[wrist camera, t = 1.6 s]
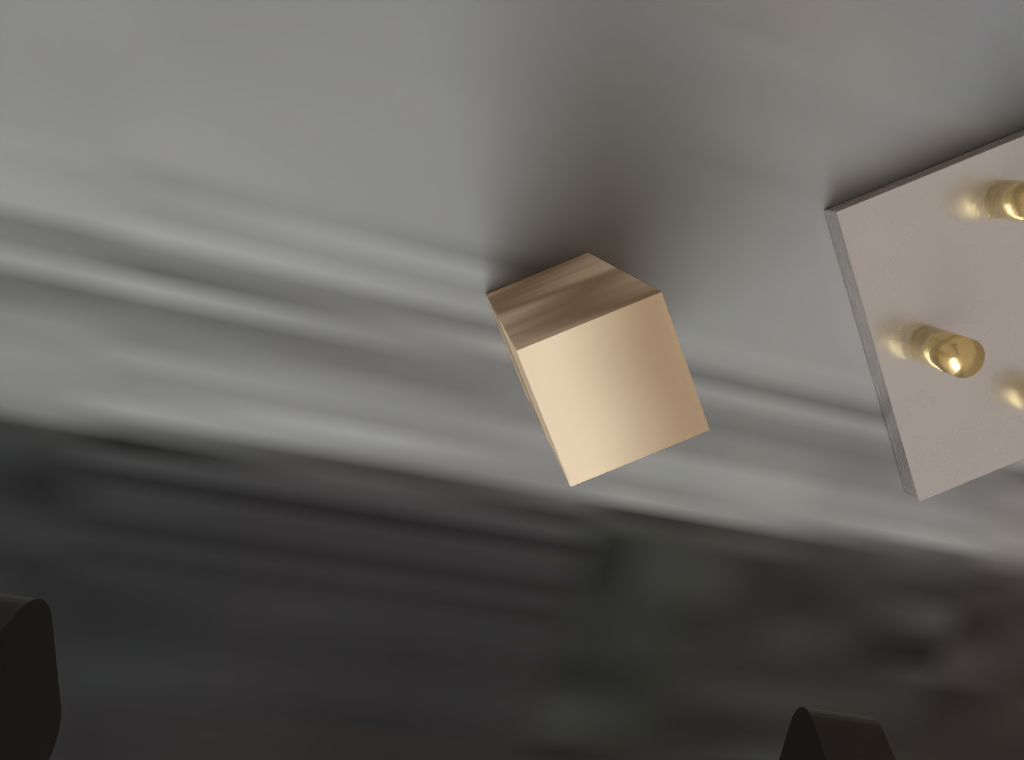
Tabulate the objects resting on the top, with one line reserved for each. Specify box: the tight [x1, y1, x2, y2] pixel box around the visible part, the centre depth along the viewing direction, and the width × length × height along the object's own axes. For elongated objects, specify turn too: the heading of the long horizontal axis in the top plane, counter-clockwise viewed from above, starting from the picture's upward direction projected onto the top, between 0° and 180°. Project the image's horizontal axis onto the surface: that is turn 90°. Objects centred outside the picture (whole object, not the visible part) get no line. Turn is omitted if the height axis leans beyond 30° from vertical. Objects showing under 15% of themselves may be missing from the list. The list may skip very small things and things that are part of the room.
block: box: [486, 253, 709, 486], centre depth 28 cm, size 4×4×10 cm
